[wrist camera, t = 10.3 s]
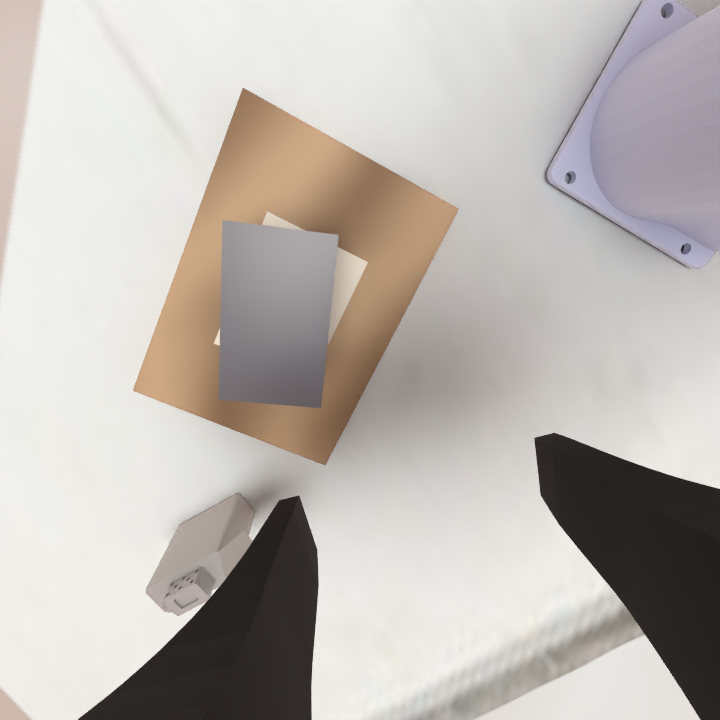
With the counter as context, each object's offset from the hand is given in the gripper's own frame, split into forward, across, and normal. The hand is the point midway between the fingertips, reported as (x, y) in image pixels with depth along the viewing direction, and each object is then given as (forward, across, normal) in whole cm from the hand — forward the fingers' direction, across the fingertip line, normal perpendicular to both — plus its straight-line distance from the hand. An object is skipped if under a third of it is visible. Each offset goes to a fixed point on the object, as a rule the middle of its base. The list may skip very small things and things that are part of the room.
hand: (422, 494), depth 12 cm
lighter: (+10, +9, +5) cm, 14 cm away
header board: (+9, +3, -5) cm, 11 cm away
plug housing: (+8, +3, -6) cm, 10 cm away
